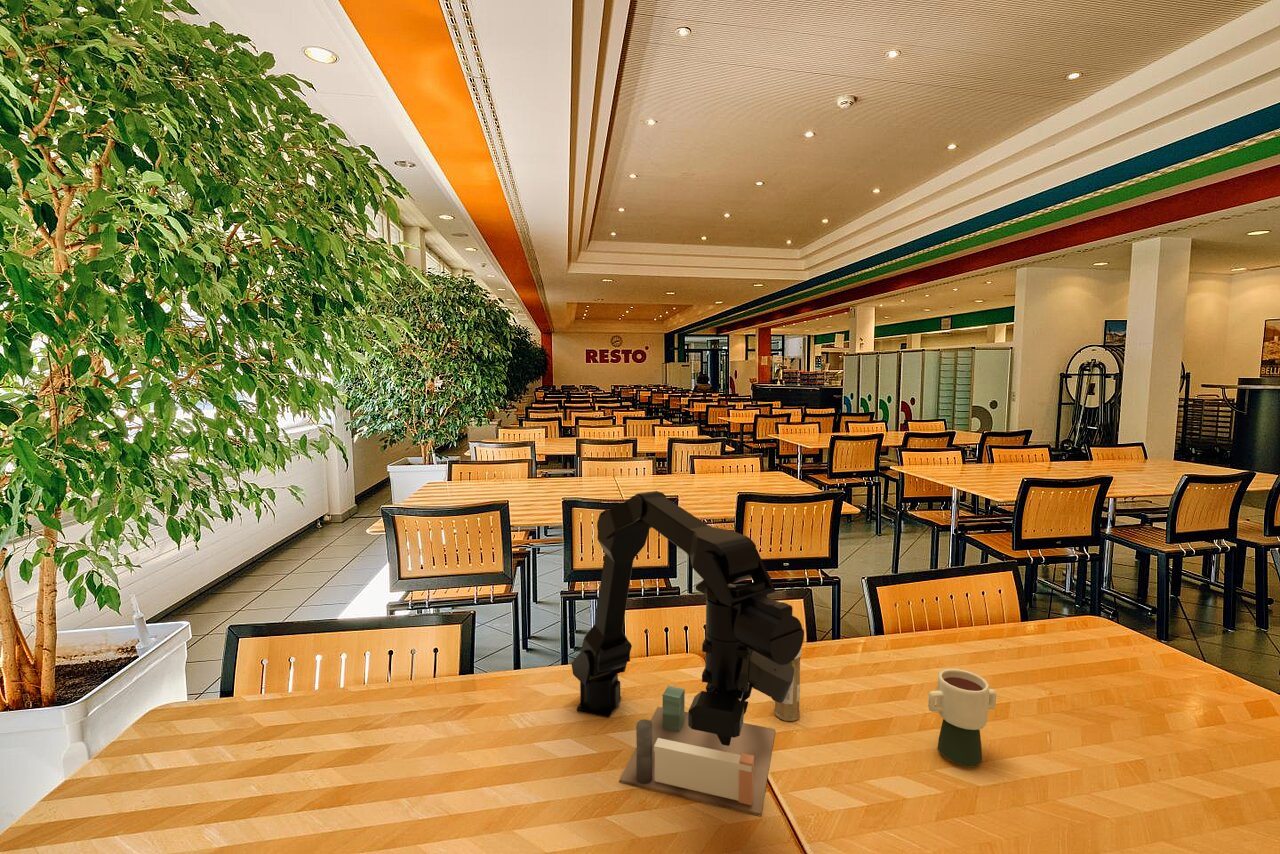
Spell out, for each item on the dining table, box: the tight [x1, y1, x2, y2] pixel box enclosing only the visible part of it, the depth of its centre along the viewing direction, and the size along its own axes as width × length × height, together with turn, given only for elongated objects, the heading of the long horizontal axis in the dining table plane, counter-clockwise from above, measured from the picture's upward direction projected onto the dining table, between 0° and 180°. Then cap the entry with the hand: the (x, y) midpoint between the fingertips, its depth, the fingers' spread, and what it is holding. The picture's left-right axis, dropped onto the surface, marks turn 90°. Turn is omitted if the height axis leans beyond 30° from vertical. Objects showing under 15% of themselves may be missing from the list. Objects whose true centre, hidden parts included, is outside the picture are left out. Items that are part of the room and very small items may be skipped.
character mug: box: [927, 668, 997, 768], centre depth 91 cm, size 11×7×13 cm, turn 94°
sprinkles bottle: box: [773, 647, 803, 722], centre depth 103 cm, size 5×5×14 cm
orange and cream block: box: [654, 738, 754, 805], centre depth 84 cm, size 14×2×6 cm, turn 71°
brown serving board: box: [618, 685, 776, 817], centre depth 92 cm, size 21×20×9 cm
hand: (725, 743), depth 77 cm, fingers closed
